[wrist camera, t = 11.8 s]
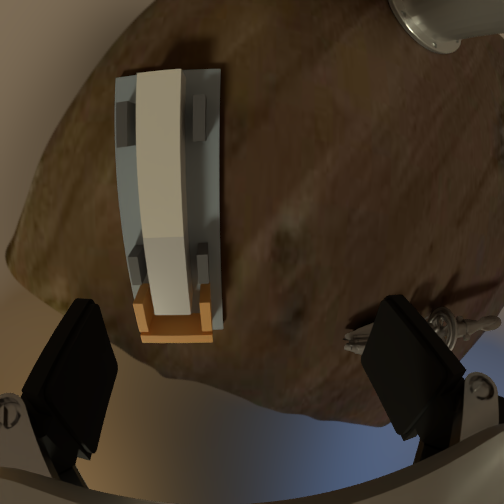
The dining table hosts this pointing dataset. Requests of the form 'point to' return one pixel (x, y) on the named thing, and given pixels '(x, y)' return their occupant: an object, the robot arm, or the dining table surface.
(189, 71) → the clip rail
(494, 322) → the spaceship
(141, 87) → the long cream stick
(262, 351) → the dining table surface
